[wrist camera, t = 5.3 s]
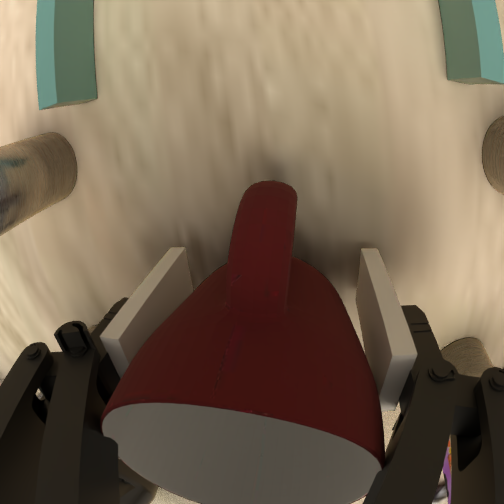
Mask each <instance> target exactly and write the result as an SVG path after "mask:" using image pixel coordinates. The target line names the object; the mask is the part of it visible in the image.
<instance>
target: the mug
mask: <svg viewBox="0 0 504 504" xmlns="http://www.w3.org/2000/svg"><path fill="white" fill-rule="evenodd" d="M296 209H297V193H296V191H295V190H294V189H293V188H292V187H291V186H289V185H287V184H285V183H282V182H277V181H261V182H258V183H254V184H253V185H251V186H250V187H249V188H248V189H247V190H246V191H245V193H244V195H243V197H242V199H241V202H240V205H239V208H238V211H237V215H236V219H235V223H234V227H233V232H232V237H231V242H230V249H229V255H228V263H227V264H225V265H223V266H222V267H220V268H219V269H217V270H216V271H215V272H213V273H212V274H211V275H210V276H209V277H208V278H207V279H206V280H204V281H203V282H202V283H201V284H200V285H199V286H198V287H197V288H196V289H195V291H194V292H193V293H192V294H191V295H190V296H189V297H188V298H187V299H186V300H185V301H184V302H183V303H182V304H181V305H180V306H179V307H178V308H177V309H176V310H175V311H174V312H173V313H172V314H171V315H170V316H169V317H168V318H167V319H166V320H165V321H164V322H163V323H162V324H161V325H160V326H159V327H158V328H157V329H156V330H155V331H154V332H153V333H152V335H151V336H150V337H149V338H148V339H147V341H146V342H145V343H144V344H143V346H142V347H141V348H140V349H139V351H138V352H137V354H136V355H135V357H134V358H133V359H132V361H131V363H130V364H129V366H128V368H127V369H126V371H125V373H124V375H123V376H122V378H121V380H120V381H119V383H118V385H117V387H116V389H115V391H114V392H113V394H112V396H111V398H110V400H109V402H108V404H107V406H106V408H105V409H104V412H103V414H102V416H101V419H100V430H101V433H102V434H103V435H104V436H106V437H110V438H112V439H113V440H115V441H116V442H117V444H118V458H119V459H120V460H121V461H122V462H123V463H124V464H126V465H127V466H128V467H129V468H130V469H132V470H133V471H135V472H136V473H137V474H139V475H140V476H142V477H143V478H145V479H146V480H148V481H150V482H152V483H153V484H155V485H157V486H159V487H161V488H163V489H165V490H167V491H169V492H171V493H173V494H176V495H178V496H181V497H183V498H186V499H188V500H191V501H194V502H197V503H200V504H351V503H353V502H355V501H358V500H360V499H361V498H363V497H365V496H367V494H368V492H369V489H370V487H371V485H372V483H373V481H374V478H375V476H376V474H377V473H378V472H379V471H380V470H381V471H382V469H383V468H384V466H385V444H384V430H383V421H382V412H381V405H380V400H379V395H378V391H377V387H376V383H375V380H374V376H373V373H372V371H371V368H370V365H369V363H368V360H367V358H366V355H365V353H364V351H363V348H362V346H361V343H360V341H359V339H358V336H357V334H356V331H355V329H354V327H353V324H352V322H351V320H350V317H349V315H348V313H347V311H346V308H345V306H344V304H343V302H342V300H341V298H340V296H339V294H338V293H337V291H336V290H335V288H334V287H333V285H332V284H331V283H330V282H329V281H328V279H327V278H326V277H325V276H324V275H322V274H321V273H320V272H319V271H318V270H316V269H315V268H314V267H312V266H311V265H309V264H307V263H306V262H304V261H302V260H300V259H298V258H296V257H293V256H292V250H293V240H294V230H295V220H296Z"/></svg>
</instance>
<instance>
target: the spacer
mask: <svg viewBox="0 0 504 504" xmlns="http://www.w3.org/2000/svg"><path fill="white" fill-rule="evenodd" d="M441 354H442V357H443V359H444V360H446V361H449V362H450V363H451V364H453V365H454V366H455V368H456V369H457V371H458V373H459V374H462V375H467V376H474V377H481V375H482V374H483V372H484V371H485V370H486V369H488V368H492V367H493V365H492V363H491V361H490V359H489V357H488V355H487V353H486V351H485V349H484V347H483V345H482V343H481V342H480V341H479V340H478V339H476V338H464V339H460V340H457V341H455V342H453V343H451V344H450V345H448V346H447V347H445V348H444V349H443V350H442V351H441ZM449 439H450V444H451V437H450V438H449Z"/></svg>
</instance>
